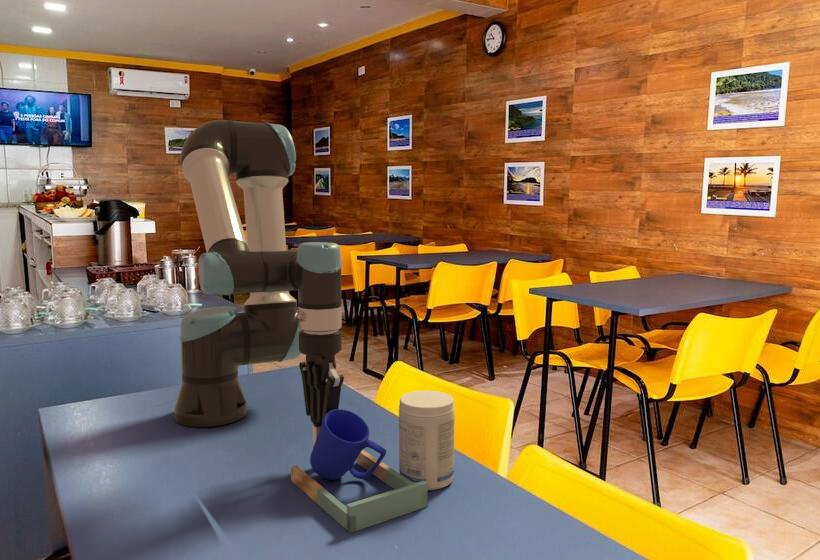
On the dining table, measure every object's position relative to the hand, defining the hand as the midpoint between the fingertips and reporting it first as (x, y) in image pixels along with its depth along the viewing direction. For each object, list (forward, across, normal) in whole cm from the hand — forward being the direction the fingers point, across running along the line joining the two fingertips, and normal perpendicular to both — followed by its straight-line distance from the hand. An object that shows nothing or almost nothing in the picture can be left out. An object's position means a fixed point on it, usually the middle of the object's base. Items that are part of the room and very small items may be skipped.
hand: (321, 457), depth 113 cm
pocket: (+2, +12, 0) cm, 12 cm away
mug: (+1, +5, 0) cm, 5 cm away
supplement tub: (+2, +15, +13) cm, 20 cm away
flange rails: (+2, +12, 0) cm, 12 cm away
